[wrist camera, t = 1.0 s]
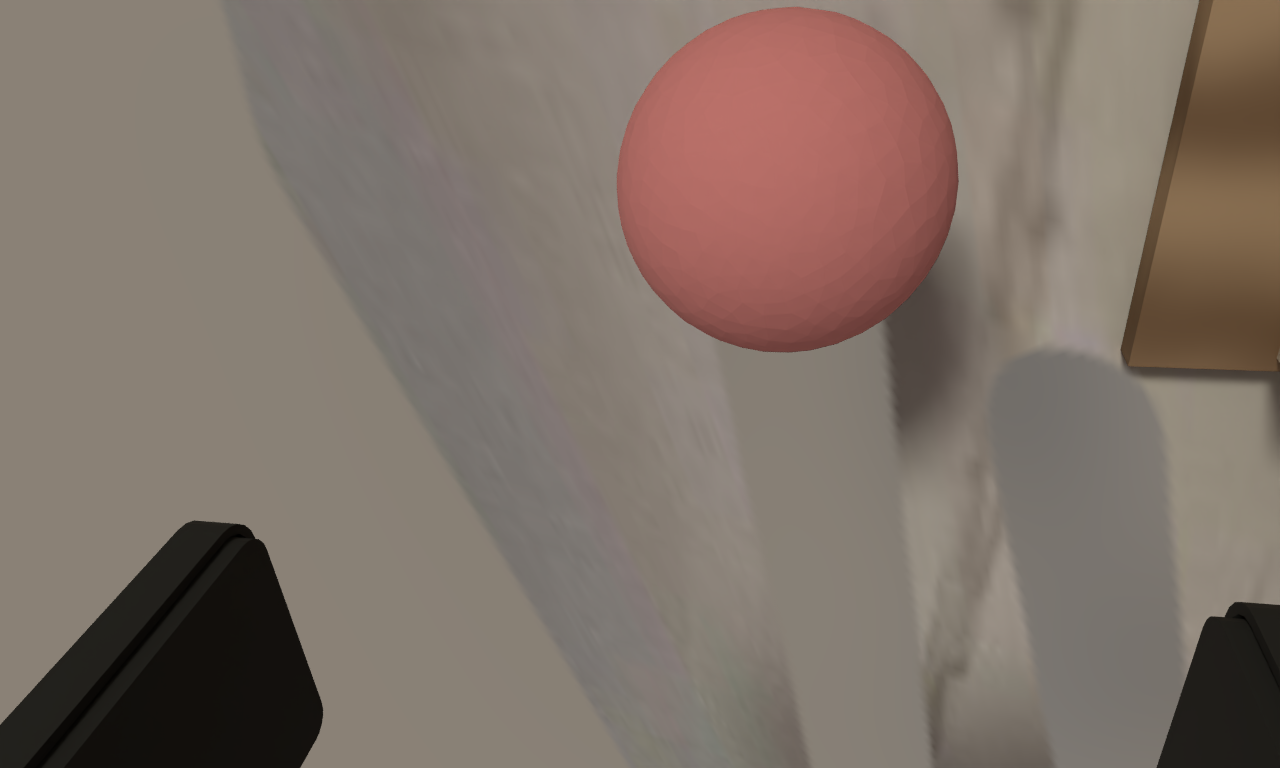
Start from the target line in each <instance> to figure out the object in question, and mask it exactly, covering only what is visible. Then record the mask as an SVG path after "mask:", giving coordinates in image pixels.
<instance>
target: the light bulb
mask: <svg viewBox="0 0 1280 768" xmlns="http://www.w3.org/2000/svg"><path fill="white" fill-rule="evenodd" d="M958 182H959V181H958V162H957V151H956V145H955V139H954V134H953V130H952V125H951V122H950V120H949V117H948V115H947V112H946V110H945V107H944V104H943V102H942V100H941V99H940V97H939V95H938V93H937V92H936V90H935V88H934V86H933V85H932V83H931V81H930V80H929V78H928V76H927V75H926V74H925V73H924V71H923V70H922V69H921V68H920V67H919V65H918V64H917V63H916V62H915V61H914V60H913V59H912V58H911V57H910V55H909V54H908V53H907V52H906V51H905V50H903V49H902V48H901V47H900V46H899V45H897V44H896V43H895V42H894V41H893V40H892V39H890V38H889V37H887V36H886V35H884V34H882V33H881V32H879V31H877V30H876V29H874V28H872V27H870V26H868V25H866V24H864V23H862V22H860V21H858V20H856V19H854V18H851V17H848V16H845V15H842V14H839V13H837V12H830V11H824V10H816V9H809V8H801V7H787V8H776V9H767V10H760V11H756V12H751V13H747V14H743V15H740V16H737V17H734V18H731V19H729V20H727V21H725V22H723V23H720V24H718V25H716V26H714V27H712V28H710V29H708V30H706V31H705V32H703V33H702V34H700V35H699V36H697V37H696V38H695V39H693V40H692V41H690V42H689V43H687V44H686V45H685V46H684V47H683V48H681V49H680V50H679V51H678V52H676V53H675V54H674V55H673V56H672V57H671V58H670V59H669V60H668V61H667V62H666V63H665V64H664V66H663V67H662V68H661V69H660V70H659V71H658V72H657V73H656V75H655V76H654V77H653V79H652V80H651V82H650V83H649V85H648V86H647V88H646V89H645V91H644V93H643V94H642V96H641V98H640V99H639V101H638V103H637V104H636V106H635V108H634V111H633V113H632V115H631V118H630V120H629V123H628V125H627V128H626V131H625V135H624V139H623V142H622V146H621V150H620V156H619V164H618V172H617V195H618V208H619V214H620V220H621V225H622V229H623V232H624V235H625V239H626V242H627V245H628V247H629V250H630V252H631V254H632V256H633V259H634V261H635V263H636V264H637V266H638V268H639V270H640V272H641V274H642V275H643V277H644V278H645V280H646V281H647V282H648V284H649V285H650V287H651V288H652V289H653V291H654V292H655V293H656V294H657V295H658V296H659V297H660V298H661V299H662V300H663V301H664V302H665V303H666V305H667V306H668V307H669V308H670V309H671V310H673V311H674V312H675V313H676V314H677V315H678V316H680V317H681V318H682V319H683V320H684V321H685V322H687V323H689V324H691V325H692V326H694V327H696V328H697V329H699V330H701V331H702V332H704V333H706V334H708V335H710V336H712V337H714V338H716V339H718V340H720V341H723V342H727V343H730V344H733V345H736V346H739V347H742V348H748V349H753V350H758V351H765V352H798V351H808V350H814V349H818V348H821V347H826V346H829V345H834V344H837V343H839V342H842V341H844V340H846V339H848V338H851V337H853V336H856V335H858V334H861V333H863V332H864V331H866V330H867V329H869V328H871V327H872V326H874V325H876V324H877V323H879V322H881V321H882V320H884V319H885V318H887V317H888V316H889V315H890V314H891V313H892V312H894V311H895V310H896V309H897V308H898V307H899V306H900V305H901V304H902V303H904V302H905V301H906V300H907V299H908V298H909V297H910V295H911V294H912V293H913V292H914V291H915V289H916V288H917V287H918V286H919V285H920V284H921V282H922V281H923V280H924V279H925V278H926V276H927V274H928V273H929V271H930V269H931V268H932V266H933V264H934V263H935V261H936V259H937V258H938V256H939V254H940V251H941V249H942V247H943V245H944V242H945V240H946V238H947V236H948V232H949V229H950V225H951V222H952V218H953V215H954V211H955V206H956V198H957V190H958Z"/></svg>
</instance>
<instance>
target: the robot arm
mask: <svg viewBox="0 0 1280 768" xmlns="http://www.w3.org/2000/svg"><path fill="white" fill-rule="evenodd" d="M322 718H323V707H322V703H321V699H320V696H319V694H318V691H317V688H316V685H315V682H314V680H313V677H312V674H311V671H310V669H309V666H308V663H307V660H306V657H305V655H304V652H303V649H302V646H301V643H300V641H299V638H298V635H297V632H296V630H295V627H294V624H293V621H292V619H291V616H290V613H289V610H288V607H287V604H286V602H285V599H284V596H283V593H282V590H281V588H280V585H279V582H278V579H277V577H276V574H275V571H274V568H273V565H272V563H271V560H270V557H269V555H268V551H267V549H266V547H265V545H264V543H263V542H262V541H260V540H259V539H255V537H254V535H253V533H252V532H251V530H250V529H249V528H248V527H246V526H245V525H240V524H230V523H217V522H204V521H192V522H189V523H186V524H185V525H184V526H183V527H181V528H180V529H179V530H178V531H177V532H176V533H175V534H174V535H173V536H172V537H171V538H170V539H169V541H168V542H167V543H166V544H165V545H164V546H163V547H162V548H161V550H159V552H158V553H157V554H156V555H155V556H154V557H153V558H152V559H151V560H150V561H149V562H148V564H147V565H146V566H145V567H144V568H143V569H142V570H141V571H140V573H138V575H137V576H136V577H135V578H134V579H133V580H132V581H131V582H130V583H129V584H128V586H127V587H126V588H125V589H124V590H123V591H122V592H121V593H120V594H119V596H117V598H116V599H115V600H114V601H113V602H112V603H111V604H110V605H109V606H108V607H107V609H106V610H105V611H104V612H103V613H102V614H101V615H100V616H99V617H98V618H97V619H96V621H95V622H94V623H93V624H92V625H91V626H90V627H89V628H88V629H87V631H86V632H85V633H84V634H83V635H82V636H81V637H80V638H79V639H78V641H77V642H76V643H75V644H74V645H73V646H72V647H71V648H70V649H69V650H68V651H67V652H66V653H65V655H64V656H63V657H62V658H61V659H60V660H59V661H58V662H57V663H56V664H55V666H54V667H53V668H52V669H51V670H50V671H49V672H48V673H47V674H46V675H45V677H44V678H43V679H42V680H41V681H40V682H39V683H38V684H37V685H36V686H35V688H34V689H33V690H32V691H31V692H30V693H29V694H28V695H27V696H26V697H25V698H24V700H23V701H22V702H21V703H20V704H19V705H18V706H17V707H16V708H15V709H14V711H13V712H12V713H11V714H10V715H9V716H8V717H7V718H6V719H5V720H4V721H3V722H2V724H1V725H0V768H300V767H301V765H302V763H303V762H304V760H305V758H306V756H307V755H308V753H309V751H310V749H311V748H312V746H313V744H314V742H315V741H316V739H317V736H318V734H319V732H320V728H321V724H322ZM1157 768H1280V605H1271V604H1258V603H1245V602H1235V603H1234V604H1233V605H1231V606H1230V607H1229V609H1228V611H1227V613H1226V615H1225V617H1209V618H1208V619H1207V620H1206V622H1205V624H1204V626H1203V629H1202V632H1201V635H1200V638H1199V641H1198V644H1197V647H1196V650H1195V653H1194V656H1193V659H1192V662H1191V665H1190V668H1189V671H1188V674H1187V677H1186V680H1185V683H1184V686H1183V689H1182V693H1181V696H1180V699H1179V702H1178V705H1177V708H1176V711H1175V714H1174V717H1173V720H1172V723H1171V726H1170V729H1169V732H1168V735H1167V738H1166V741H1165V744H1164V747H1163V750H1162V753H1161V756H1160V759H1159V762H1158V765H1157Z"/></svg>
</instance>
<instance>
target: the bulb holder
mask: <svg viewBox="0 0 1280 768" xmlns="http://www.w3.org/2000/svg"><path fill="white" fill-rule="evenodd" d="M1121 351H1122V354H1123V356H1124V358H1125V360H1126V362H1127V365H1128V366H1138V367H1166V368H1194V369H1222V370H1251V371H1279V372H1280V0H1200V1H1199V5H1198V10H1197V14H1196V19H1195V23H1194V27H1193V32H1192V36H1191V41H1190V45H1189V50H1188V54H1187V58H1186V63H1185V67H1184V72H1183V76H1182V81H1181V85H1180V90H1179V94H1178V98H1177V103H1176V107H1175V112H1174V116H1173V121H1172V125H1171V129H1170V134H1169V138H1168V143H1167V147H1166V152H1165V156H1164V160H1163V165H1162V169H1161V174H1160V178H1159V183H1158V187H1157V191H1156V196H1155V200H1154V205H1153V209H1152V214H1151V218H1150V223H1149V227H1148V231H1147V236H1146V240H1145V245H1144V249H1143V254H1142V258H1141V262H1140V267H1139V271H1138V276H1137V280H1136V285H1135V289H1134V293H1133V298H1132V302H1131V307H1130V311H1129V316H1128V320H1127V324H1126V329H1125V333H1124V338H1123V342H1122V347H1121Z"/></svg>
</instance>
